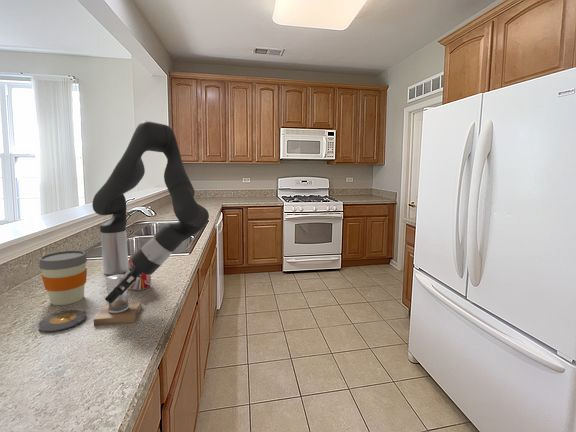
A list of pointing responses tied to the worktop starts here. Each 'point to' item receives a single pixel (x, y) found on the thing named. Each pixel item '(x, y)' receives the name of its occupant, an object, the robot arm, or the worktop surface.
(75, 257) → the reusable coffee cup
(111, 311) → the clear tapered piece
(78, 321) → the round grey coaster
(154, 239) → the robot arm
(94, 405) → the worktop surface
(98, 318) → the stand
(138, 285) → the soda can
